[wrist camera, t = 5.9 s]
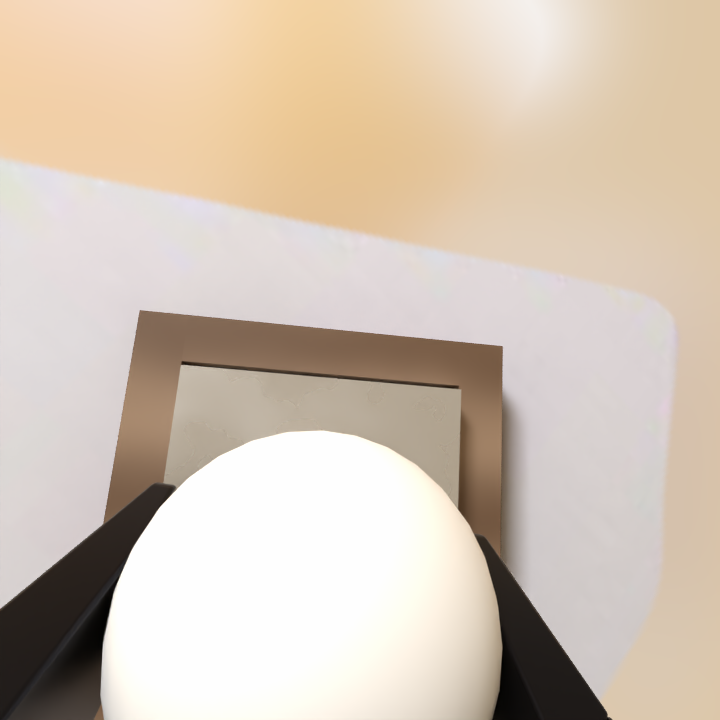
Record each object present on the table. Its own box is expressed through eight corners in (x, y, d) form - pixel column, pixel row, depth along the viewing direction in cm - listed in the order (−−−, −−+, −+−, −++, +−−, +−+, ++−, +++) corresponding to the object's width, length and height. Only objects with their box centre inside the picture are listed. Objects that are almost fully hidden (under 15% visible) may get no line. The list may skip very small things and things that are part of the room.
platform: (437, 668, 19) (452, 694, 17) (151, 662, 18) (132, 687, 16) (446, 395, 21) (461, 389, 19) (192, 373, 20) (181, 364, 18)
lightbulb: (359, 418, 17) (470, 349, 6) (421, 591, 16) (687, 886, 5) (185, 480, 15) (-72, 536, 5) (241, 671, 14) (82, 1278, 4)
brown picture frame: (471, 703, 21) (498, 744, 18) (101, 697, 20) (66, 741, 17) (478, 358, 24) (502, 346, 21) (160, 328, 23) (139, 310, 20)
